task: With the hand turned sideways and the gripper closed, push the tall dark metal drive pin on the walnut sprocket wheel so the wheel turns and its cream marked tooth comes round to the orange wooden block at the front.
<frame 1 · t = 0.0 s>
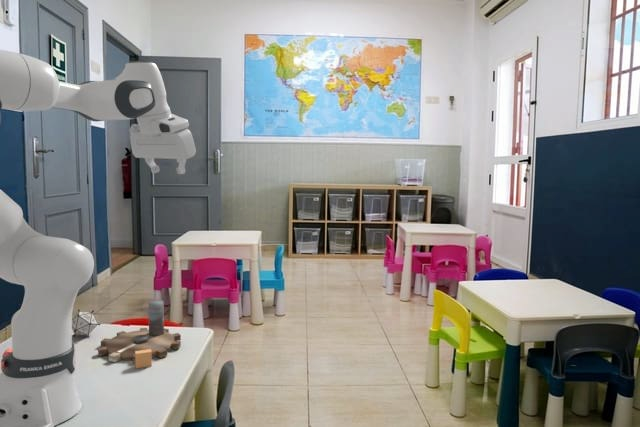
hand: (168, 172, 130), 52 cm above the table, tool tilted 20°, fingers open, 8 cm apart
sprocket: (140, 327, 138), point 6 cm above the table, hinge at 0.0°
game die: (83, 336, 146), on the table
orange wooden block: (143, 365, 126), on the table
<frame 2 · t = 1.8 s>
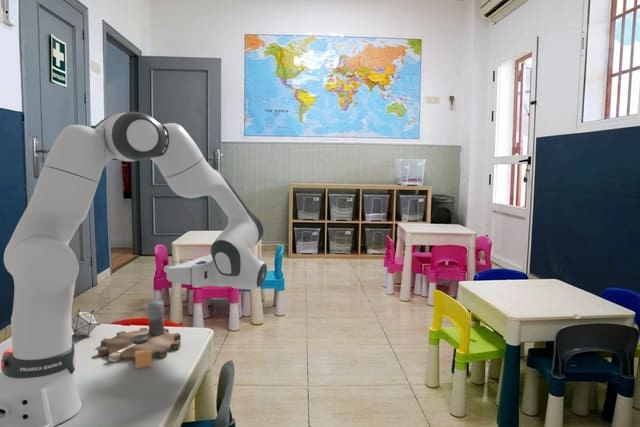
hand: (173, 265, 139), 24 cm above the table, tool horizontal, fingers open, 6 cm apart
nothing on the table moved.
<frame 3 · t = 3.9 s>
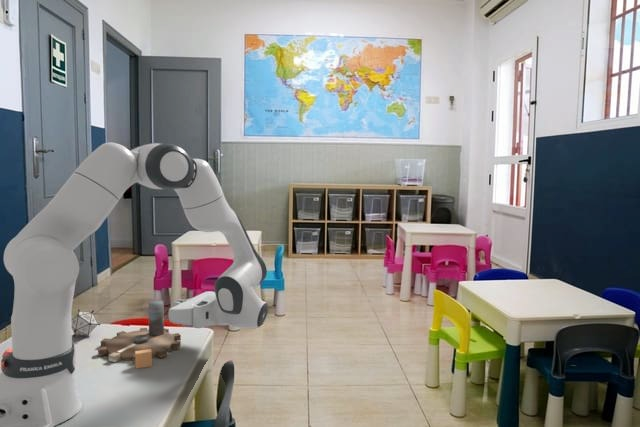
hand: (175, 303, 141), 13 cm above the table, tool horizontal, fingers closed
nothing on the table moved.
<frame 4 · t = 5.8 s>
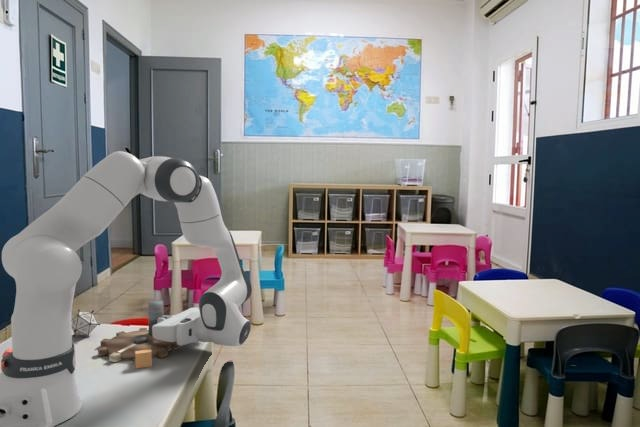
hand: (160, 319, 143), 7 cm above the table, tool horizontal, fingers closed, pressing on sprocket
sprocket: (140, 327, 138), point 6 cm above the table, hinge at 0.8°, touching gripper
everything else where it was.
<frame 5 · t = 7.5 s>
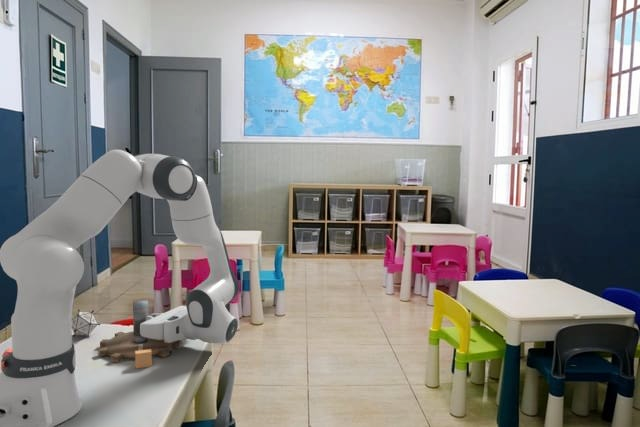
hand: (148, 317, 144), 7 cm above the table, tool horizontal, fingers closed
sprocket: (140, 327, 138), point 6 cm above the table, hinge at 39.6°, touching gripper
everything else where it was.
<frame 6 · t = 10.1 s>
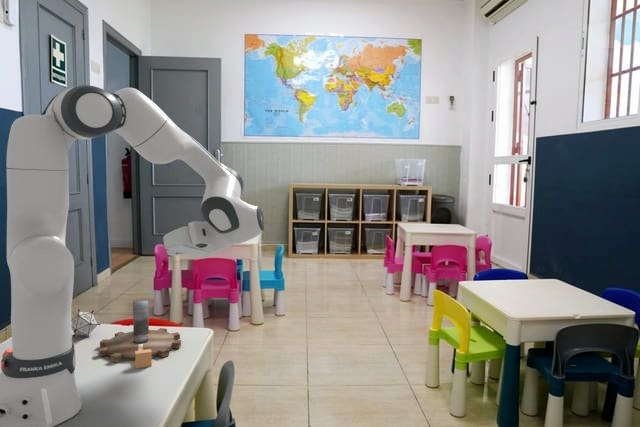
hand: (169, 253, 134), 29 cm above the table, tool tilted 65°, fingers closed
sprocket: (140, 327, 138), point 6 cm above the table, hinge at 39.6°
everything else where it was.
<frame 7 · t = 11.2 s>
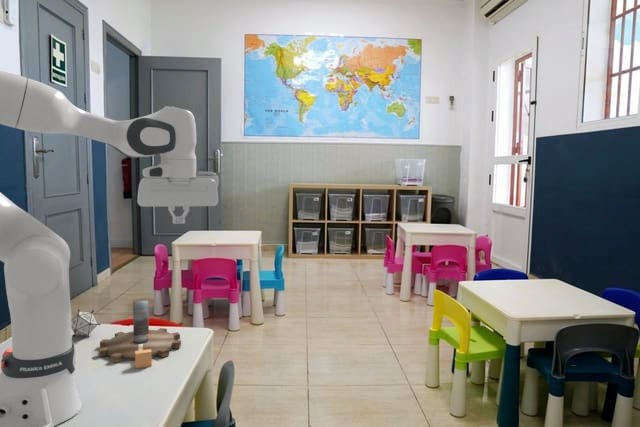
hand: (178, 223, 122), 39 cm above the table, tool pointing down, fingers closed
nothing on the table moved.
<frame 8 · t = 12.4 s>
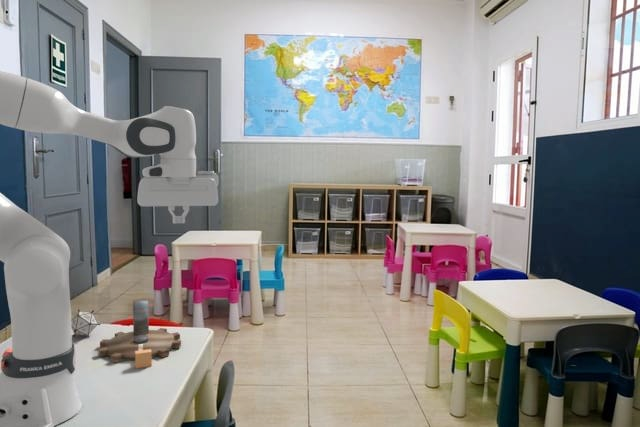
hand: (178, 223, 122), 39 cm above the table, tool pointing down, fingers closed
nothing on the table moved.
at the end: sprocket at +40° (first picture: +0°); game die moved 0.2 cm from its start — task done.
